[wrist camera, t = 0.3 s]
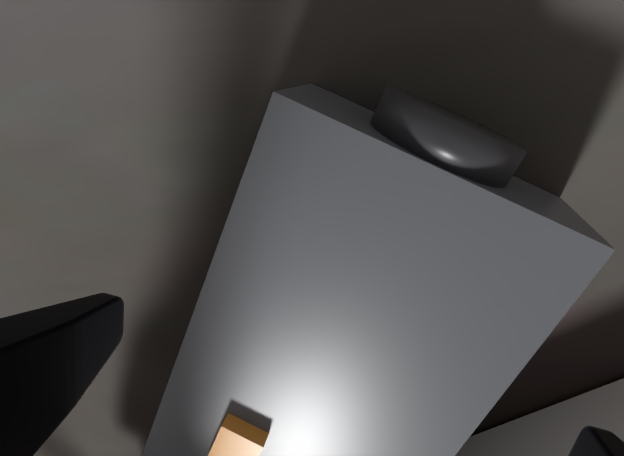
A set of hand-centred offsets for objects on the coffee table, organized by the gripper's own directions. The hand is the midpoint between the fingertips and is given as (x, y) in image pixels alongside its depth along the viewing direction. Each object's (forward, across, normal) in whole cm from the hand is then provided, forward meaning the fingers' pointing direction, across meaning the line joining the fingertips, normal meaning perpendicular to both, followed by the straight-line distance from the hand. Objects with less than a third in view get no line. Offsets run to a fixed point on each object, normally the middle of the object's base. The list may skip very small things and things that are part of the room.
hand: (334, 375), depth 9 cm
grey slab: (+14, 0, +7) cm, 15 cm away
